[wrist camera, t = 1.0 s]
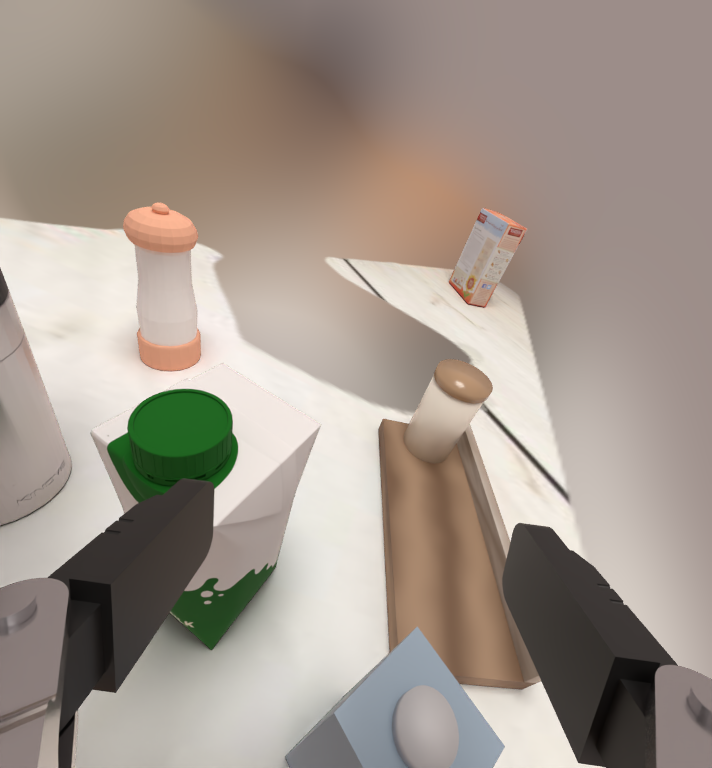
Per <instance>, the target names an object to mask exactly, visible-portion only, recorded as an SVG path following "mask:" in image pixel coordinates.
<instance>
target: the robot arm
mask: <svg viewBox="0 0 712 768" xmlns="http://www.w3.org/2000/svg"><path fill="white" fill-rule="evenodd" d="M70 472H71V458H70V455H69V453H68V450H67V447H66V444H65V442H64V439H63V436H62V433H61V430H60V427H59V424H58V422H57V419H56V416H55V413H54V411H53V408H52V405H51V403H50V400H49V397H48V394H47V392H46V389H45V386H44V383H43V381H42V378H41V375H40V373H39V370H38V367H37V364H36V362H35V359H34V356H33V354H32V351H31V348H30V345H29V343H28V340H27V337H26V335H25V332H24V329H23V327H22V324H21V322H20V319H19V316H18V314H17V311H16V308H15V305H14V303H13V300H12V297H11V295H10V292H9V289H8V287H7V284H6V281H5V279H4V276H3V274H2V271H1V269H0V525H3V524H6V523H9V522H12V521H15V520H17V519H19V518H21V517H23V516H26V515H28V514H30V513H32V512H33V511H35V510H36V509H38V508H40V507H41V506H43V505H44V504H46V503H47V502H48V501H49V500H50V499H52V498H53V497H54V496H55V495H56V494H57V493H58V492H59V491H60V490H61V488H62V487H63V486H64V484H65V483H66V481H67V479H68V478H69V475H70ZM213 524H214V485H213V483H212V482H209V481H201V480H194V479H186V478H182V479H180V480H179V481H178V482H177V483H176V484H175V485H173V486H172V487H171V488H170V489H169V490H168V491H167V492H166V493H164V494H163V495H155V496H153V497H151V498H149V499H147V500H145V501H142V502H140V503H138V504H136V505H135V506H133V507H132V508H131V509H130V510H129V511H127V512H126V513H125V514H124V515H123V516H121V517H120V518H119V521H115V522H114V523H113V524H112V525H110V526H109V527H108V528H107V529H106V530H105V532H104V533H101V534H100V535H98V536H97V537H96V538H95V539H94V540H92V541H91V542H90V543H89V544H88V545H86V546H85V547H84V548H83V549H82V550H80V551H79V552H78V553H77V554H75V555H74V556H73V557H72V558H71V559H69V560H68V561H67V562H66V563H65V564H63V565H62V566H61V567H60V568H59V569H57V570H56V571H55V572H54V573H53V574H51V575H50V576H49V577H48V578H36V579H29V580H24V581H20V582H17V583H13V584H10V585H8V586H5V587H2V588H0V768H75V760H76V745H77V730H78V708H79V707H80V706H81V704H82V703H83V701H84V700H85V699H86V697H87V696H88V695H89V693H90V692H91V691H92V689H93V690H100V691H107V692H114V693H116V692H117V690H118V689H119V687H120V686H121V684H122V683H123V681H124V680H125V678H126V677H127V675H128V674H129V672H130V671H131V669H132V668H133V666H134V665H135V663H136V662H137V660H138V659H139V657H140V656H141V654H142V653H143V651H144V650H145V648H146V647H147V645H148V644H149V642H150V641H151V639H152V638H153V636H154V635H155V633H156V632H157V630H158V629H159V627H160V626H161V624H162V623H163V621H164V620H165V619H166V617H167V616H168V614H169V613H170V611H171V610H172V608H173V607H174V605H175V604H176V602H177V601H178V599H179V598H180V596H181V595H182V593H183V592H184V590H185V589H186V587H187V586H188V584H189V583H190V581H191V580H192V578H193V577H194V575H195V574H196V572H197V571H198V569H199V568H200V566H201V565H202V563H203V562H204V560H205V559H206V557H207V555H208V552H209V550H210V547H211V543H212V539H213ZM502 586H503V594H504V598H505V601H506V603H507V605H508V608H509V610H510V612H511V614H512V617H513V619H514V621H515V623H516V625H517V628H518V630H519V632H520V634H521V637H522V639H523V641H524V643H525V645H526V648H527V650H528V652H529V654H530V657H531V659H532V661H533V663H534V666H535V668H536V670H537V672H538V674H539V677H540V679H541V681H542V683H543V686H544V688H545V690H546V692H547V694H548V697H549V699H550V701H551V703H552V706H553V708H554V710H555V712H556V714H557V717H558V719H559V721H560V723H561V726H562V728H563V730H564V732H565V734H566V737H567V739H568V741H569V743H570V746H571V748H572V750H573V752H574V754H575V757H576V759H577V761H578V763H581V764H588V765H595V766H602V767H606V768H712V679H710V678H708V677H706V676H704V675H702V674H700V673H698V672H696V671H693V670H691V669H688V668H685V667H681V666H678V665H677V664H676V662H675V661H674V660H673V659H672V658H671V657H670V655H669V654H668V653H667V652H666V651H665V650H664V648H663V647H662V646H661V645H660V644H659V643H658V641H657V640H656V639H655V638H654V637H653V635H652V634H651V633H650V632H649V631H648V630H647V628H646V627H645V626H644V625H643V624H642V623H641V621H639V619H638V618H637V617H636V616H635V614H634V613H633V612H632V611H631V610H630V609H629V607H628V606H627V605H624V604H623V600H622V599H621V598H620V597H619V596H618V594H617V593H616V592H615V591H614V590H613V589H610V585H609V584H608V583H607V581H606V580H605V579H604V578H603V577H602V576H601V574H600V573H599V572H598V571H597V570H596V568H595V567H594V566H592V565H591V564H589V563H588V562H587V561H586V560H584V559H583V558H582V557H580V556H579V555H578V554H577V553H575V552H574V551H571V550H569V549H568V548H567V546H566V545H565V544H564V543H563V541H562V540H561V539H560V538H559V536H558V535H557V534H556V533H555V532H554V530H553V529H552V528H550V527H546V526H538V525H530V524H523V523H518V524H517V525H516V526H515V528H514V530H513V534H512V538H511V542H510V546H509V551H508V555H507V559H506V563H505V567H504V571H503V577H502Z"/></svg>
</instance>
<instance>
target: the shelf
mask: <svg viewBox="0 0 712 768" xmlns="http://www.w3.org/2000/svg"><path fill="white" fill-rule="evenodd" d="M408 425H409V424H407V423H402V422H397V421H392V420H387V419H383V420H382V422H381V425H380V427H379V448H380V468H381V488H382V508H383V529H384V549H385V569H386V589H387V609H388V629H389V649H390V652H391V651H392V650H393V649H394V648H395V647H396V646H397V645H398V644H399V643H400V642H401V641H403V640H404V639H405V638H406V637H407V636H408V635H409V634H410V633H411V632H412V631H413V630H414V629H415V628H416V627H418V628H419V629H420V631H421V632H422V633H423V635H424V636H425V638H426V639H427V640H428V642H429V643H430V644H431V646H432V647H433V649H434V650H435V651H436V653H437V654H438V655H439V657H440V658H441V659H442V661H443V662H444V664H445V665H446V666H447V668H448V669H449V670H450V672H451V673H452V675H453V676H454V677H455V679H456V680H457V681H458V683H459V684H469V685H479V686H490V687H501V688H512V689H524V688H526V687H529V686H531V685H533V684H536V683H538V682H540V681H541V679H540V677H539V674H538V672H537V670H536V668H535V666H534V663H533V661H532V659H531V657H530V654H529V652H528V650H527V648H526V645H525V643H524V641H523V639H522V637H521V634H520V632H519V630H518V628H517V625H516V623H515V621H514V619H513V617H512V614H511V612H510V610H509V608H508V605H507V603H506V601H505V598H504V594H503V586H502V577H503V571H504V567H505V563H506V559H507V555H508V551H509V546H510V540H509V537H508V534H507V531H506V528H505V525H504V522H503V519H502V516H501V513H500V510H499V507H498V505H497V502H496V499H495V496H494V493H493V490H492V487H491V484H490V481H489V478H488V475H487V472H486V469H485V467H484V464H483V461H482V458H481V455H480V452H479V449H478V446H477V443H476V440H475V437H474V434H473V431H472V429H471V426H470V424H469V425H468V427H467V428H466V430H465V431H464V433H463V434H462V436H461V437H460V439H459V440H458V442H457V443H456V445H455V446H454V448H453V449H452V451H451V452H450V454H449V455H448V457H447V459H446V460H444V461H443V462H440V463H429V462H425V461H423V460H420V459H419V458H417V457H415V456H414V455H413V454H412V453H411V452H410V451H409V450H408V449H407V447H406V445H405V443H404V433H405V431H406V429H407V427H408Z"/></svg>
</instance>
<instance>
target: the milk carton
mask: <svg viewBox="0 0 712 768" xmlns="http://www.w3.org/2000/svg"><path fill="white" fill-rule="evenodd" d="M320 427H321V424H320V423H318V422H317V421H315V420H314V419H312V418H310V417H309V416H307V415H306V414H304V413H302V412H301V411H299V410H297V409H296V408H294V407H293V406H291V405H289V404H288V403H286V402H285V401H283V400H281V399H280V398H278V397H277V396H275V395H273V394H272V393H270V392H269V391H267V390H265V389H264V388H262V387H261V386H259V385H257V384H256V383H254V382H253V381H251V380H249V379H248V378H246V377H245V376H243V375H241V374H240V373H238V372H237V371H235V370H233V369H232V368H230V367H229V366H227V365H225V364H224V363H222V364H220V365H218V366H216V367H214V368H212V369H210V370H208V371H206V372H204V373H202V374H200V375H198V376H196V377H194V378H192V379H191V380H189V379H185V380H183V381H180V382H178V383H177V384H175V385H173V386H171V387H170V388H169V389H167V390H166V391H164V392H161V393H158V394H156V395H153V396H151V397H149V398H147V399H146V400H144V401H143V402H141V403H140V404H139V405H137V406H135V407H133V408H131V409H129V410H127V411H125V412H123V413H122V414H120V415H118V416H116V417H114V418H112V419H110V420H108V421H106V422H104V423H103V424H101V425H99V426H97V427H95V428H93V429H92V430H91V436H92V438H93V440H94V443H95V445H96V447H97V449H98V452H99V454H100V456H101V458H102V461H103V463H104V465H105V468H106V470H107V472H108V474H109V477H110V479H111V481H112V484H113V486H114V488H115V491H116V493H117V495H118V498H119V500H120V502H121V505H122V507H123V510H124V513H126V512H127V511H129V510H130V509H131V508H132V507H133V506H135V505H136V504H138V503H140V502H142V501H145V500H147V499H149V498H151V497H153V496H155V495H163V494H164V493H166V492H167V491H168V490H169V489H170V488H171V487H172V486H173V485H175V484H176V483H177V482H178V481H179V480H180V479H182V478H186V479H194V480H201V481H209V482H212V483H213V485H214V524H213V539H212V543H211V547H210V550H209V552H208V555H207V557H206V559H205V560H204V562H203V563H202V565H201V566H200V568H199V569H198V571H197V572H196V574H195V575H194V577H193V578H192V580H191V581H190V583H189V584H188V586H187V587H186V589H185V590H184V592H183V593H182V595H181V596H180V598H179V599H178V601H177V602H176V604H175V605H174V607H173V608H172V610H171V611H170V614H172V615H173V616H174V617H175V618H176V619H177V620H178V621H179V622H180V623H182V624H183V625H184V626H185V627H186V628H187V629H188V630H189V631H191V632H192V633H193V634H194V635H195V636H196V637H197V638H198V639H199V640H201V641H202V642H203V643H204V644H205V645H206V646H207V647H208V648H209V649H210V650H212V649H213V648H214V646H215V645H216V644H217V643H218V641H219V640H220V639H221V637H222V636H223V635H224V633H225V632H226V631H227V630H228V628H229V627H230V626H231V624H232V623H233V622H234V621H235V619H236V618H237V617H238V615H239V614H240V613H241V612H242V610H243V609H244V608H245V606H246V605H247V604H248V603H249V601H250V600H251V599H252V597H253V596H254V595H255V594H256V592H257V591H258V590H259V589H260V587H261V586H262V585H263V583H264V582H265V581H266V580H267V578H268V577H269V576H270V574H271V573H272V571H273V570H274V569H275V568H276V564H277V559H278V556H279V552H280V548H281V545H282V541H283V537H284V534H285V530H286V526H287V522H288V519H289V515H290V511H291V507H292V503H293V499H294V496H295V493H296V489H297V487H298V484H299V481H300V479H301V476H302V473H303V471H304V468H305V465H306V463H307V460H308V457H309V455H310V452H311V450H312V447H313V444H314V442H315V439H316V436H317V434H318V431H319V429H320Z"/></svg>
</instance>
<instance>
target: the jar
mask: <svg viewBox="0 0 712 768" xmlns="http://www.w3.org/2000/svg"><path fill="white" fill-rule="evenodd" d="M492 389H493V387H492V383H491V381H490V380H489V378H488V377H487V376H486V375H485V374H484V373H483V372H482V371H480V370H479V369H477V368H476V367H474V366H472V365H470V364H468V363H466V362H463V361H459V360H453V359H446V360H443V361H441V362H440V363H439V364H438V366H437V368H436V370H435V372H434V376H433V378H432V380H431V382H430V384H429V386H428V388H427V390H426V392H425V394H424V396H423V398H422V400H421V401H420V403H419V405H418V407H417V409H416V411H415V413H414V415H413V417H412V419H411V421H410V423H409V425H408V427H407V429H406V431H405V433H404V443H405V445H406V447H407V449H408V450H409V451H410V452H411V453H412V454H413V455H414V456H415V457H417V458H419V459H420V460H423V461H425V462H429V463H440V462H443V461H444V460H446V459H447V457H448V455H449V454H450V452H451V451H452V449H453V448H454V446H455V445H456V443H457V442H458V440H459V439H460V437H461V436H462V434H463V433H464V431H465V430H466V428H467V427H468V425H469V424H470V422H471V421H472V419H473V417H474V416H475V414H476V413H477V411H478V410H479V408H480V407H481V405H482V404H483V402H484V401H486V400H487V398H488V396H489V395H490V393H491V392H492Z"/></svg>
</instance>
